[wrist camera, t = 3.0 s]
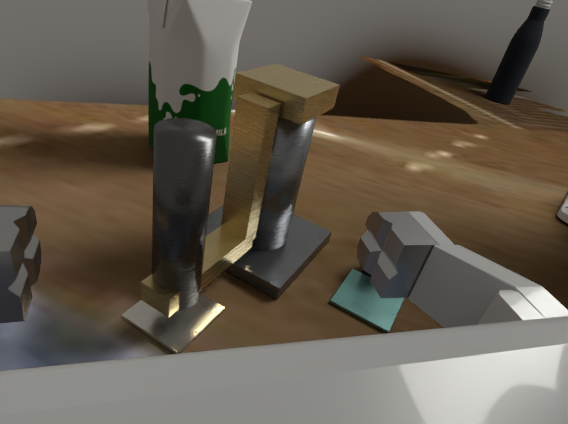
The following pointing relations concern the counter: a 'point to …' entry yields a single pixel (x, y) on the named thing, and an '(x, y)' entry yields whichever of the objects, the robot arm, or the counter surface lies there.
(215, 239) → the lever
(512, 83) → the dark blue bottle
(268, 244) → the post
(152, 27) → the milk carton
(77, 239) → the counter surface
